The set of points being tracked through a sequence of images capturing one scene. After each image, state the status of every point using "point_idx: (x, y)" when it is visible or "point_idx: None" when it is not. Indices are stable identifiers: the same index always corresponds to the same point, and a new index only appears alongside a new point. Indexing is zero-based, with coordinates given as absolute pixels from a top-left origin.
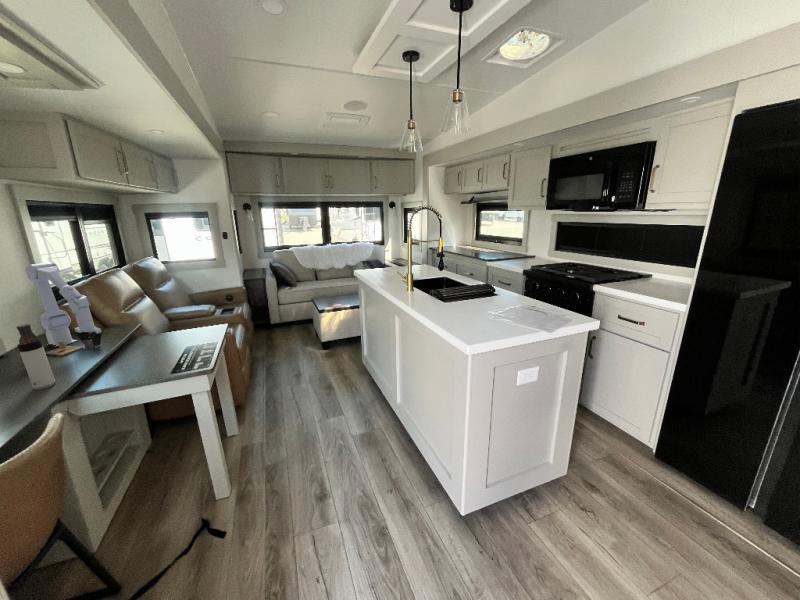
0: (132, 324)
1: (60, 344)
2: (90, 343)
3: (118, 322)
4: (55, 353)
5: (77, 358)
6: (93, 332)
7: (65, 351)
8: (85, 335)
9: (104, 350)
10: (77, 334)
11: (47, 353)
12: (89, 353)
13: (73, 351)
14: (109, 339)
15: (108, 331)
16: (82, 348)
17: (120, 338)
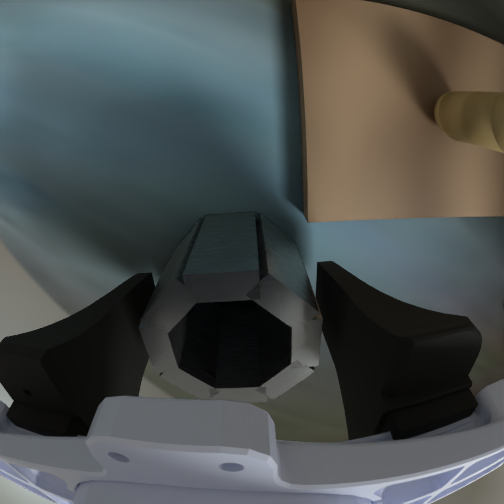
0: None
1: (487, 94)
2: (166, 271)
3: None
4: (418, 22)
5: (64, 41)
6: (37, 423)
7: (376, 74)
8: (353, 378)
9: (40, 247)
10: (399, 339)
11: (489, 39)
12: (79, 152)
13: (301, 108)
14: (293, 403)
15: None
16: (305, 209)
17: None
